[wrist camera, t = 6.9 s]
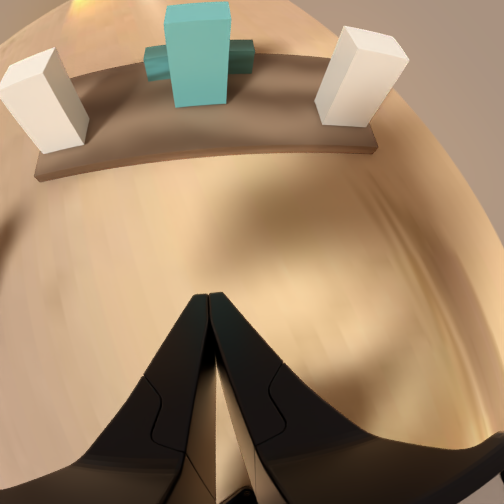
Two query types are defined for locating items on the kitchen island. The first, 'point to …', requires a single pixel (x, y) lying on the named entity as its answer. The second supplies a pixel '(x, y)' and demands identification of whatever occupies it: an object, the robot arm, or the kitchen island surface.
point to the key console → (202, 115)
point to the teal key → (198, 52)
